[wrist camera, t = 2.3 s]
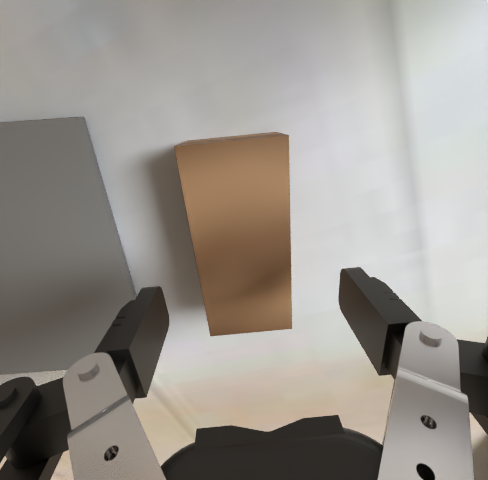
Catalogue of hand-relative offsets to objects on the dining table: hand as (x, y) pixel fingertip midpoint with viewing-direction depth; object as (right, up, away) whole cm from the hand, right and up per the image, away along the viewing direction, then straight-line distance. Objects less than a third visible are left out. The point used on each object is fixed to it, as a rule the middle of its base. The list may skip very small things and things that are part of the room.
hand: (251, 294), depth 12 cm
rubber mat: (-17, 0, +6) cm, 18 cm away
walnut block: (-1, +3, +6) cm, 7 cm away
